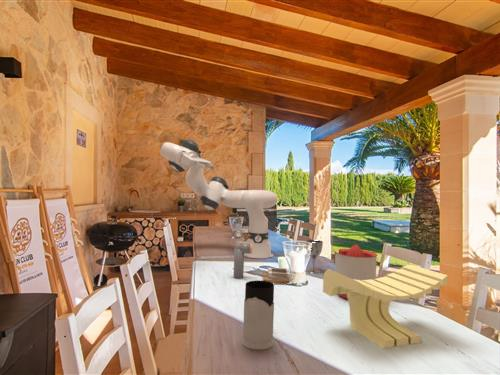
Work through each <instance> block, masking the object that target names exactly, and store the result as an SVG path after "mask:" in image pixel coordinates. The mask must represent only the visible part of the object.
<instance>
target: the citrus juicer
mask: <svg viewBox="0 0 500 375" xmlns="http://www.w3.org/2000/svg"><path fill="white" fill-rule="evenodd" d="M377 256H378V254H377V253H375V252H374V251H370V250H362V249H361V248H360V246H359V245H358V244H354V245H352V246H351V247H350V248H339V249H338V251H334V257H333V258H332V259H331V260H330V262H329V264H333V265H334V271H335V272H337V273H340V274H342V275H344V276H346V277H349V278H351V279H355V280H360V281H361V280H370V279H372V280H374V279H376V278H377V276H376V275H377ZM337 295H338V296H340V298H343V299H346V300H348V298H347V293H346V294H339V293H337Z"/></svg>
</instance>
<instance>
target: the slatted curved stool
mask: <svg viewBox="0 0 500 375" xmlns="http://www.w3.org/2000/svg"><path fill="white" fill-rule="evenodd" d="M448 278H449V277H448V275H447V274H444V273H441V272H439V271H438V272H437V271H433V270H431V269H427V268H423V267H421V266H417V265H414V264H408V265H402V266H401V268H400V269H396V270H394V271H393V272H390V273H387V274H386V275H385V276H382V277H378V278H377V277H376V279H374V280H372V279H370V280H361V281H360V280H355V279H351V278H349V277H346V276H344V275H342V274H340V273H337V272H335V270H333V269H330V268H329V269H326V270H325V271H324V274H323V281H322V282H323V283H322V284H323V285H322V292H323V293H324V294H326V295H328V296H330V297H334V296H337V295H339V294H346V293H347V298H348V299H347V301H348V306H349V322H350V327H351V328H352V329H353V330H355V331H356V332H357V333H359V334H361V335H362V336H363V337H365V338H367V339H368V340H370V341H371V342H373V343H374V344H375V345H377V346H379V347H380V348H381V349H387V348H393V347H401V346H405V345H407V346H408V345H409V344H411V345H414V344H420V343H422V340H421V337H420V335H418V334H417V333H415V332H413V331H412V330H409V329H408V328H407V327H405V326H403V325H401V324H400V323H399V322H397V320H395V319H394V318H393V317H392V315H391V314H390V310H389V307H390V303H391V301H396V300H398V301H403V300H410V299H423V298H424V297H425V296H424V295H430V294H433V293H432V292H433V291H435V290H436V291H437V290H440V288H441V287H440V286H442V287H446V286H448ZM338 293H339V294H338Z"/></svg>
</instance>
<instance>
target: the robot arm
mask: <svg viewBox="0 0 500 375" xmlns="http://www.w3.org/2000/svg"><path fill="white" fill-rule="evenodd" d="M159 155H160V156H162V157H163V158H164V159H165V160H167V161H168V165H169V167H170V168H171V169H172V170H174V171H176V172H178V173H183V172H186V170H187V169H188V168H189V169H188V171H187V172H186V174H185V183H186V185H187V186H188V189H190V190H191V191H192V192H193V193H194V194H197V195H199V196H201V197H199V200H200V202H201V204H202V206H203V207H204V208H205V209H207V210H210V211H215V210H217V209H218V207H219V206H220V204H221V203H222V204H223V205H224V206H225V207H228V208H233V209H246V212H247V214H248V221H249V222H248V226H249V227H248V232H247V239H246V240H245V242H244V243H245V244H252V254H244V257H246V258H251V259H269V258H274V254H273V253H272V252H271V251H272V250H271V246H272V244H271V241H270V240H269V219H268V217H267V216H266V215H265V212H264V209H271V208H272V207H275V206H276V205H277V202H278V196H277V194H276V193H275V192H273V191H271V190H267V189H241V190H238V189H235V190H229V185H228V183H227V182H226V180H225V179H224V178H222V177H220V176H213V177H211V179H210V181H209V183H208V181H207V180H206V178H205V175H204V170H205V169H208V170H212V171H214V170H215V169H216V166H214V165H213V164H212V162H211V161H210V160H207V159H204V158H202V157H201V154H200V148H199V145H198V144H197V142H195V141H194V140H192V139H183V140H182V142H181V143H180V144H179V145H178V144H175V143H173V142H167V141H165V142H164V143H163V144H162V146H160V149H159Z"/></svg>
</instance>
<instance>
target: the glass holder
mask: <svg viewBox="0 0 500 375" xmlns="http://www.w3.org/2000/svg"><path fill="white" fill-rule="evenodd" d="M274 290H275V284H273V283H271V282H268V281H263V280H250V281H246V283H245V290H244V294H245V296H244V302H243V303H244V305H243V329H242V337H241V339H240V342H241V345H243V346H244V347H246V348H247V349H251V350H265V349H270V348H271V347H273V346H274V345H275V339H274V319H275V318H274V315H275V314H274V313H275V303H274V299H275V298H274V296H275V294H274V293H275V291H274Z"/></svg>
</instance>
